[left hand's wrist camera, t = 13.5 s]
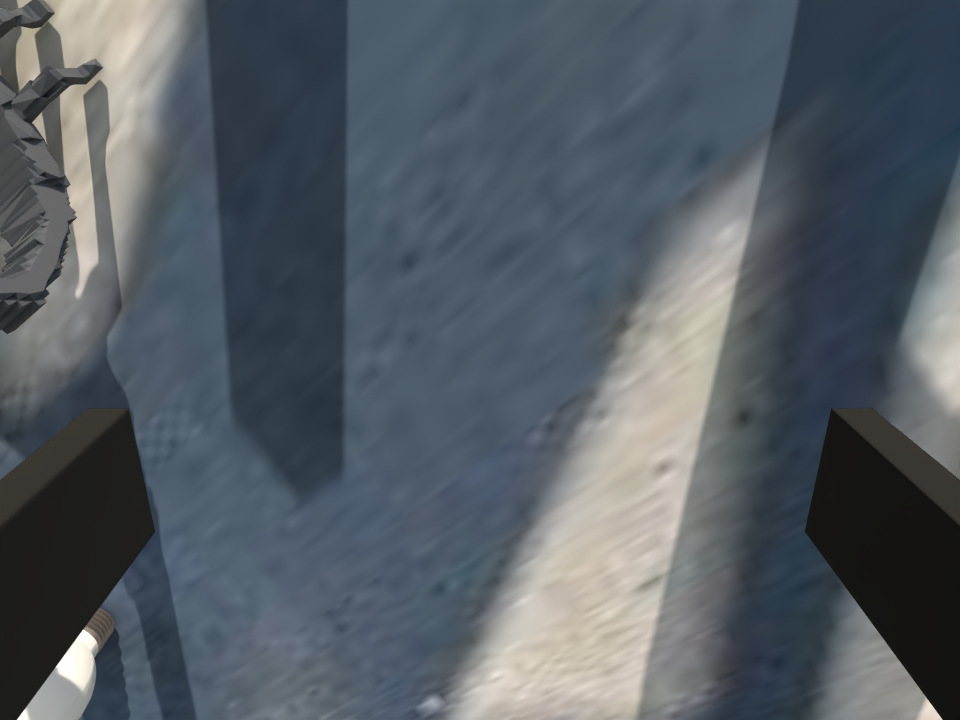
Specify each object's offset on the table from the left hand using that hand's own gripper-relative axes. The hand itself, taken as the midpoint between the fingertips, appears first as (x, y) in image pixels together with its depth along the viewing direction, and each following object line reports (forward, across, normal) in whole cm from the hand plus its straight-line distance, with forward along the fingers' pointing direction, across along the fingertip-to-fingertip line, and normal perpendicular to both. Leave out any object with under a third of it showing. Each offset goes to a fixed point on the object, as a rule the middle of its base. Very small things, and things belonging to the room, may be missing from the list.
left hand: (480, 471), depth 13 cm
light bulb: (+31, -31, -33) cm, 55 cm away
